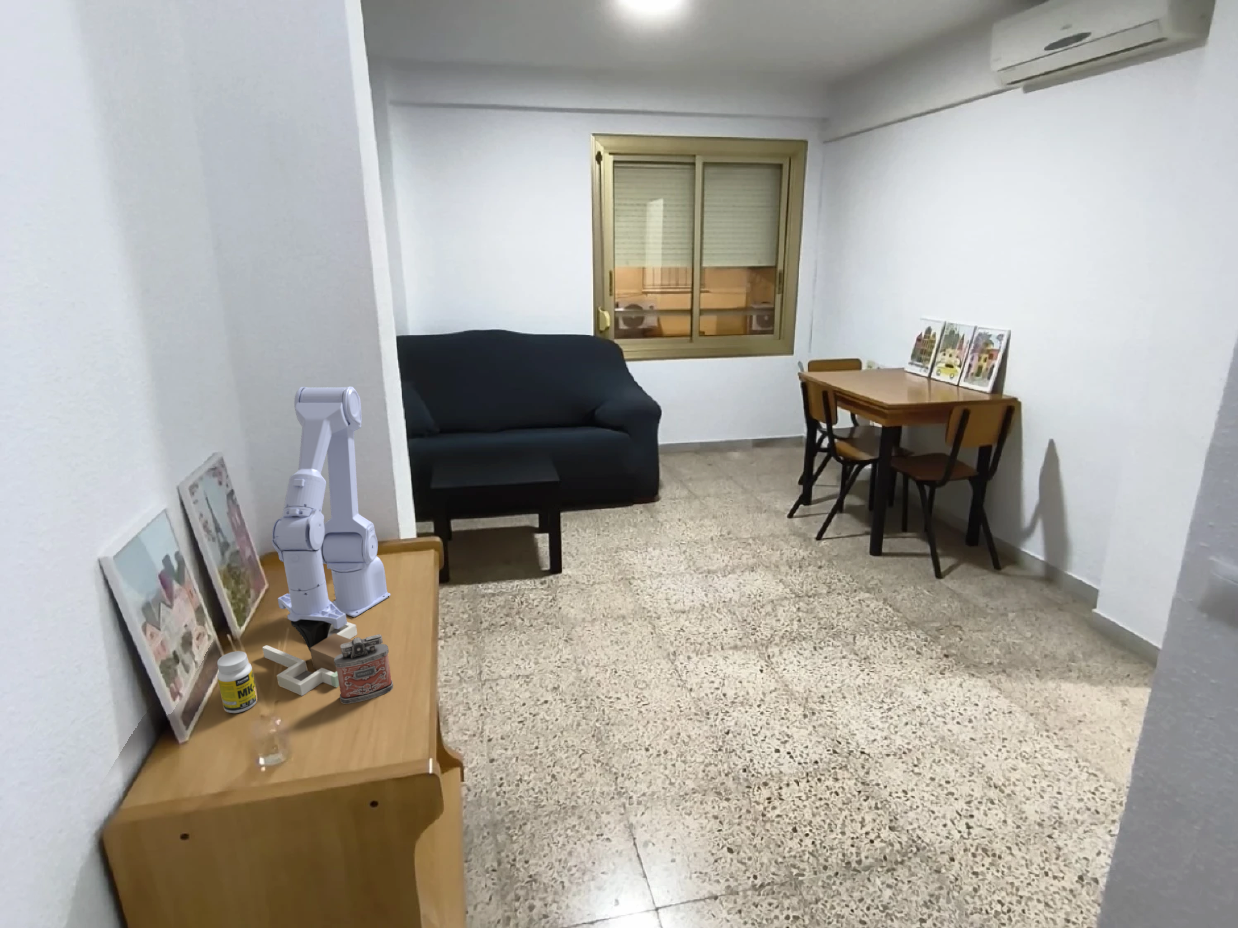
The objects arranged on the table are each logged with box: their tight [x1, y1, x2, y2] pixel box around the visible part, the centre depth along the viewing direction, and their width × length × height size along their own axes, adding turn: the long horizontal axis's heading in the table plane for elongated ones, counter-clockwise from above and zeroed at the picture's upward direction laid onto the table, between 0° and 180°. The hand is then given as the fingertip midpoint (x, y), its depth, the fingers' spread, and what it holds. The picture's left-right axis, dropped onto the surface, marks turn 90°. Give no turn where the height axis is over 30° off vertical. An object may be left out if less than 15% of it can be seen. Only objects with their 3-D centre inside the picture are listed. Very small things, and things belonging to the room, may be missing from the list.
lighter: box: [334, 633, 394, 705], centre depth 106 cm, size 8×3×10 cm, turn 118°
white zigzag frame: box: [262, 621, 358, 697], centre depth 116 cm, size 17×18×2 cm
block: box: [309, 633, 353, 673], centre depth 114 cm, size 5×6×4 cm
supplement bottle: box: [216, 650, 257, 714], centre depth 104 cm, size 5×5×8 cm
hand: (318, 652), depth 116 cm, fingers closed
